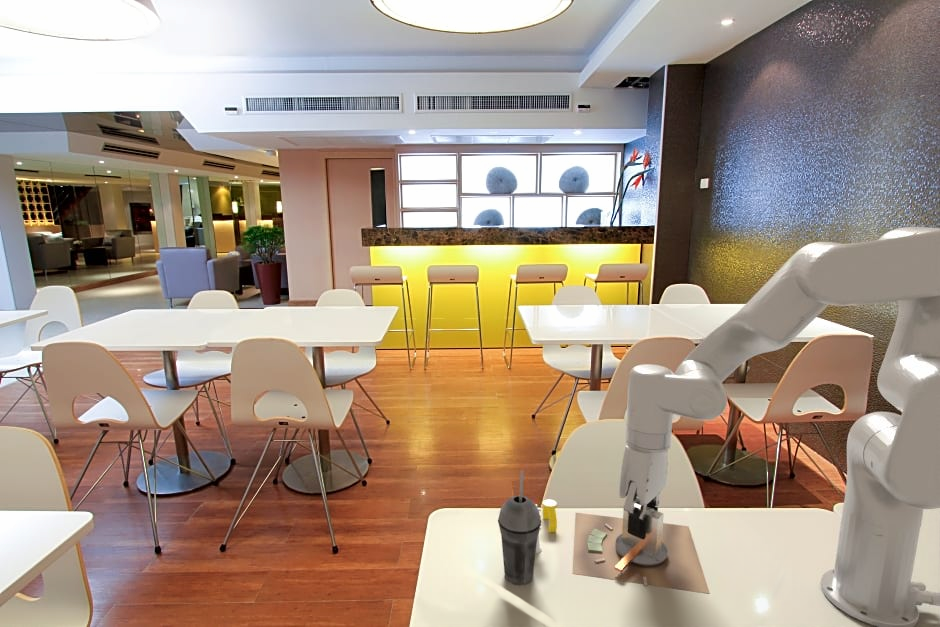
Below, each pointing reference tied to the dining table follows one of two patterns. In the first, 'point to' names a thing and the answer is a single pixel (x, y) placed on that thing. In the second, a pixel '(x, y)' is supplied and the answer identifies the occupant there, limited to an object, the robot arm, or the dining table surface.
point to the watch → (550, 514)
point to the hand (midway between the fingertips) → (642, 529)
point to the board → (601, 558)
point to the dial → (642, 543)
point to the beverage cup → (519, 536)
